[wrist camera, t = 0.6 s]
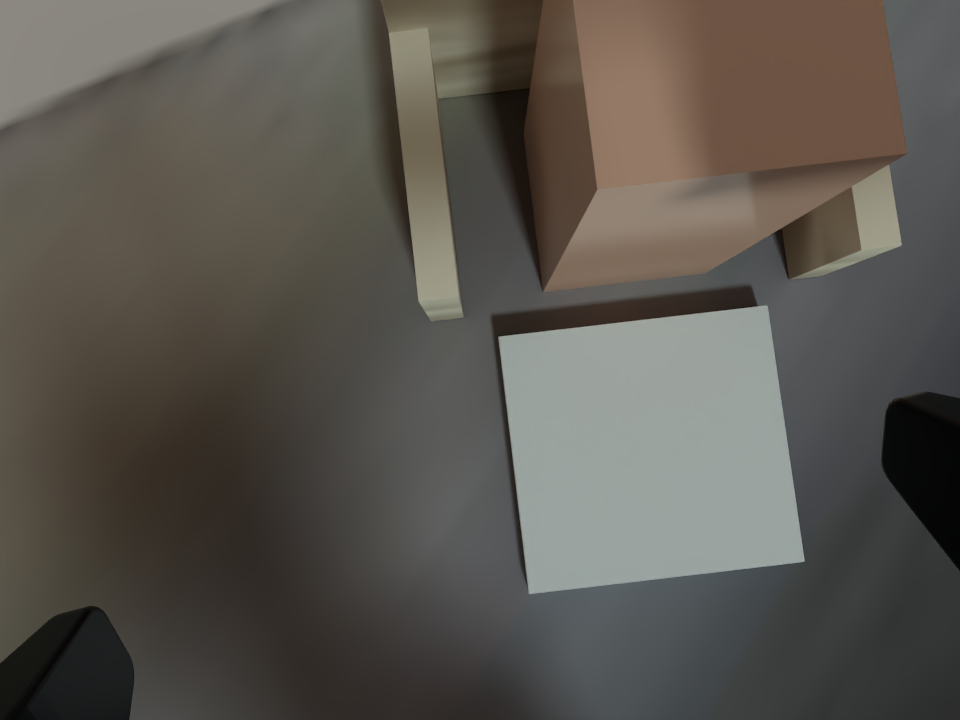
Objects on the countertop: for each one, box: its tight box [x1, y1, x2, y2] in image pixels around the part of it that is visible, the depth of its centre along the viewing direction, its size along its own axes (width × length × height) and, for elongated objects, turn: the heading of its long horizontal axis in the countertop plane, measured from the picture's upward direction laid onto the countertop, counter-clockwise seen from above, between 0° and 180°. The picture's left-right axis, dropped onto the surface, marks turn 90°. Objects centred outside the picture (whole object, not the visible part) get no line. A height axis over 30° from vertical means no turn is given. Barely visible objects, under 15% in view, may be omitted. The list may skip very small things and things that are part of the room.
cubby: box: [381, 0, 902, 321], centre depth 18 cm, size 8×12×6 cm, turn 97°
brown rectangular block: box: [524, 0, 907, 292], centre depth 16 cm, size 5×5×10 cm
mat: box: [498, 306, 805, 594], centre depth 20 cm, size 8×8×1 cm
